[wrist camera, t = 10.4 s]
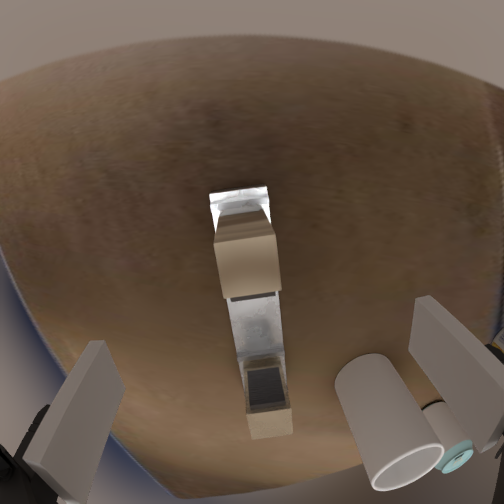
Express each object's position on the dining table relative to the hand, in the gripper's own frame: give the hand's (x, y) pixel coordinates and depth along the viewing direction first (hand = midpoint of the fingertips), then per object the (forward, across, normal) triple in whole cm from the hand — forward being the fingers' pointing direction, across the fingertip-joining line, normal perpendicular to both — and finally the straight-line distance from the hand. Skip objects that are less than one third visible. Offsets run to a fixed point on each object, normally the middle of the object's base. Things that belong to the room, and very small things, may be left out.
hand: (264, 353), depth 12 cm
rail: (+19, 0, -8) cm, 21 cm away
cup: (+20, +13, -22) cm, 32 cm away
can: (+20, +27, -36) cm, 49 cm away
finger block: (+17, 0, 0) cm, 17 cm away
